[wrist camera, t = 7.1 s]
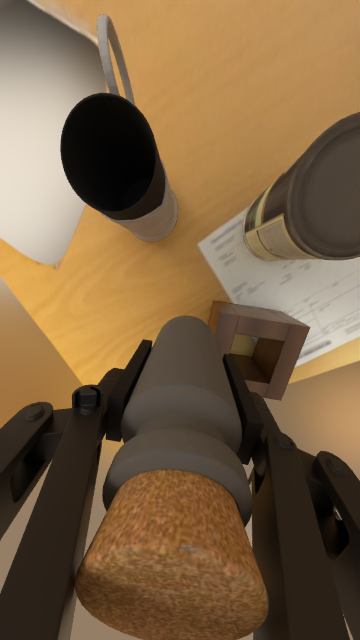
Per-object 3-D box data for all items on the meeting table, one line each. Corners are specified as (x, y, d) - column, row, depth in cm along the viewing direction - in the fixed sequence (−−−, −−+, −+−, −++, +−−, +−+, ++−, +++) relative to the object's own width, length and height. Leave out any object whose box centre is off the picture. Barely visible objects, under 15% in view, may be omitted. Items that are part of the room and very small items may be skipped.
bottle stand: (281, 311, 32) (310, 327, 24) (261, 371, 36) (281, 400, 28) (212, 300, 32) (220, 312, 24) (200, 361, 36) (202, 387, 28)
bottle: (155, 362, 20) (57, 636, 5) (161, 310, 18) (36, 512, 3) (209, 371, 19) (257, 671, 5) (220, 319, 18) (344, 566, 3)
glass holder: (125, 242, 30) (64, 223, 15) (114, 132, 25) (17, -36, 11) (178, 241, 29) (167, 220, 15) (176, 128, 25) (159, -51, 11)
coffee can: (237, 197, 27) (284, 134, 14) (310, 177, 26) (441, 85, 12) (246, 268, 30) (291, 272, 17) (312, 252, 29) (419, 243, 15)
